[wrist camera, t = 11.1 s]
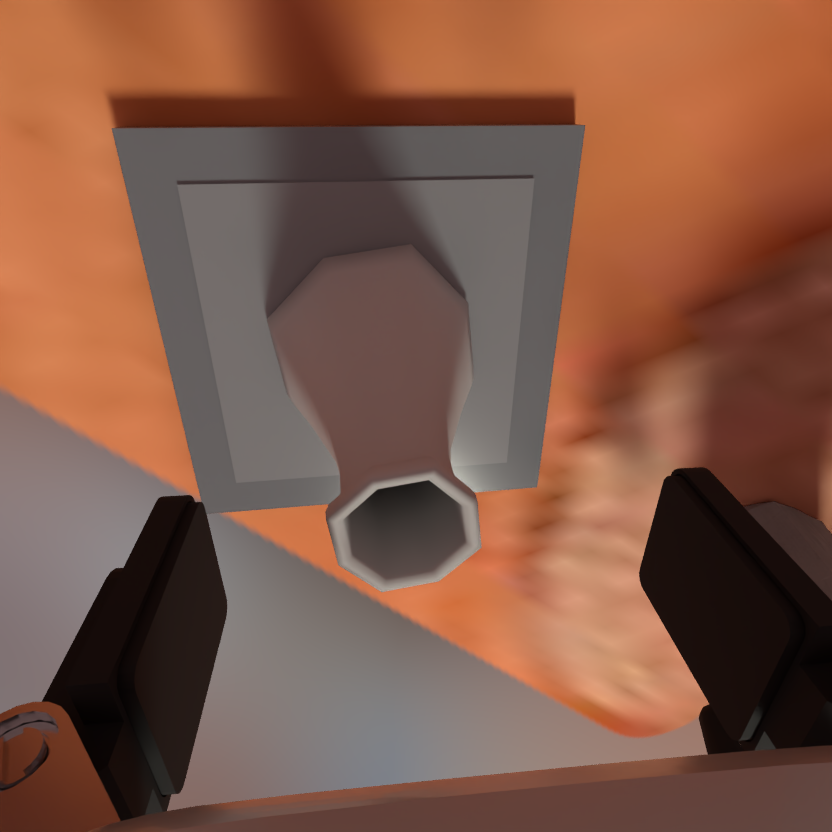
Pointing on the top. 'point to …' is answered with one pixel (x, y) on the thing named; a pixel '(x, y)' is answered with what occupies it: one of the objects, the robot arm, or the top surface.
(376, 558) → the flask
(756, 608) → the robot arm
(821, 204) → the top surface
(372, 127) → the slate coaster
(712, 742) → the coffeepot
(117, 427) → the top surface
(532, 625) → the top surface
